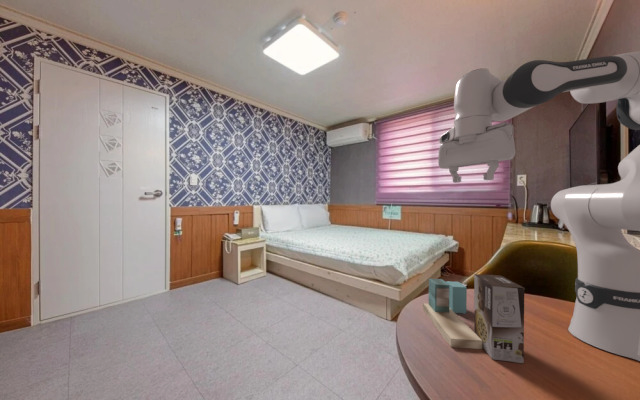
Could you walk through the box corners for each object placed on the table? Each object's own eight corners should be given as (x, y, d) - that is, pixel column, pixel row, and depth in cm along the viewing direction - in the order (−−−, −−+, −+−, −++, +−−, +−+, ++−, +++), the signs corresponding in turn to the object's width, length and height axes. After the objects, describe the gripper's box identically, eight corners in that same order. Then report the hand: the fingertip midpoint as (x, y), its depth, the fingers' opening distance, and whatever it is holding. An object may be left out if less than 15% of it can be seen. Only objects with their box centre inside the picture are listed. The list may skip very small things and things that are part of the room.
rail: (446, 310, 73) (446, 278, 74) (482, 349, 55) (482, 306, 55) (423, 309, 74) (423, 278, 74) (450, 347, 55) (451, 304, 55)
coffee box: (525, 364, 50) (526, 288, 50) (491, 359, 51) (492, 285, 51) (501, 339, 59) (502, 274, 59) (473, 336, 60) (473, 272, 60)
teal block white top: (457, 305, 78) (457, 281, 78) (466, 313, 72) (466, 287, 72) (444, 304, 78) (445, 280, 78) (452, 312, 72) (452, 286, 72)
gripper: (522, 120, 56) (521, 178, 56) (450, 141, 76) (450, 183, 76) (503, 117, 54) (503, 177, 54) (434, 139, 74) (434, 183, 74)
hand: (471, 181), depth 65 cm, fingers open, 8 cm apart
